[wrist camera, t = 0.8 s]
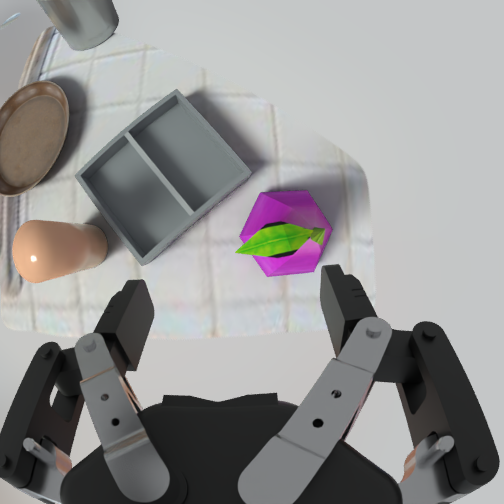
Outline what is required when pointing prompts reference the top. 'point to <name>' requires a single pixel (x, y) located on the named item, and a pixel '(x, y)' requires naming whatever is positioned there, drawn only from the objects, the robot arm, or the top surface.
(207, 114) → the top surface
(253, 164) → the top surface
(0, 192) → the object
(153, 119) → the divided storage tray
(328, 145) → the top surface
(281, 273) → the pear
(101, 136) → the top surface
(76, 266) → the peach pillar candle
